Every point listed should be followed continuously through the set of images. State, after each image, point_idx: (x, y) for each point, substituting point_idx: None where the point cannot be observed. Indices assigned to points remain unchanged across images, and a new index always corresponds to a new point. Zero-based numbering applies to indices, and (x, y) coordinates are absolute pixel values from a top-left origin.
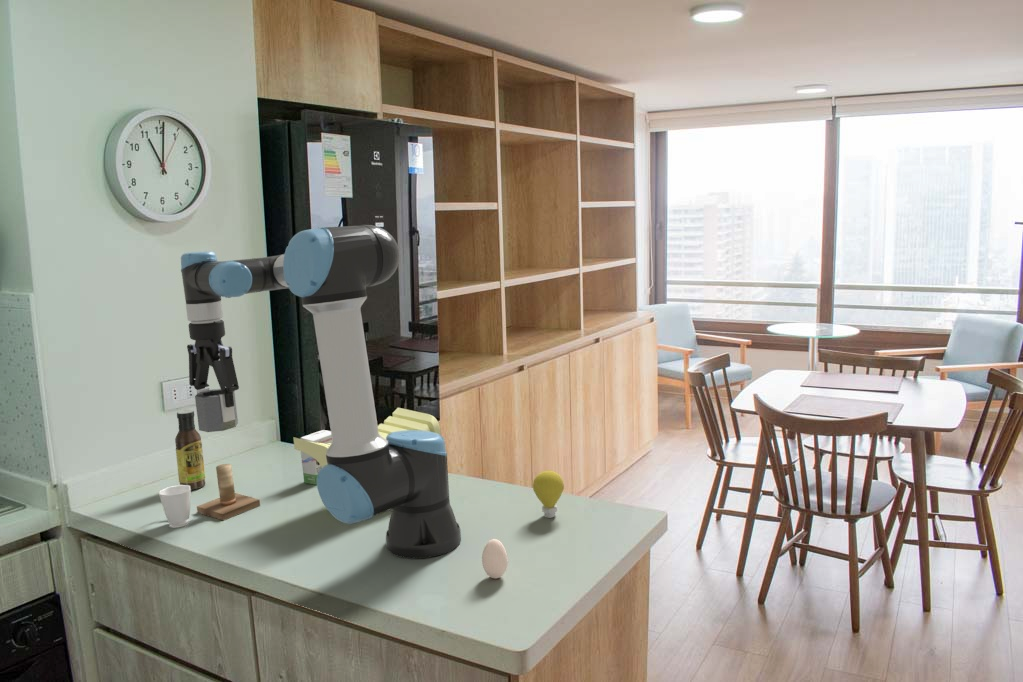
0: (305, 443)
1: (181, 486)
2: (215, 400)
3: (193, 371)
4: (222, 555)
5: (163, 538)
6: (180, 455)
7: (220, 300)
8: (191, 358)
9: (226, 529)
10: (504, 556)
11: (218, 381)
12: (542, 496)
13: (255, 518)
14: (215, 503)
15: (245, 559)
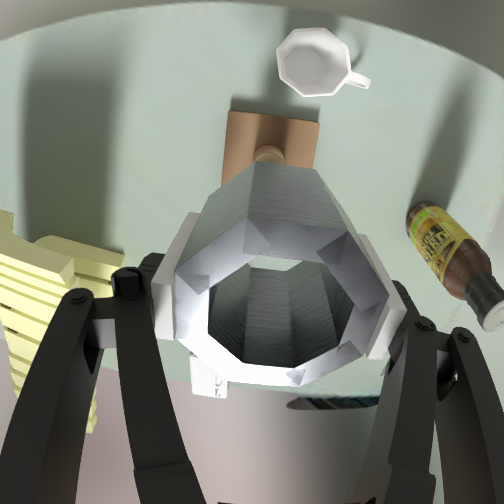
0: (21, 256)
1: (327, 91)
2: (193, 246)
3: (468, 402)
4: (107, 19)
5: (271, 9)
6: (458, 232)
7: None
8: (496, 480)
9: (187, 83)
10: None
11: (153, 347)
12: None
13: (178, 143)
14: (293, 148)
15: (67, 34)
